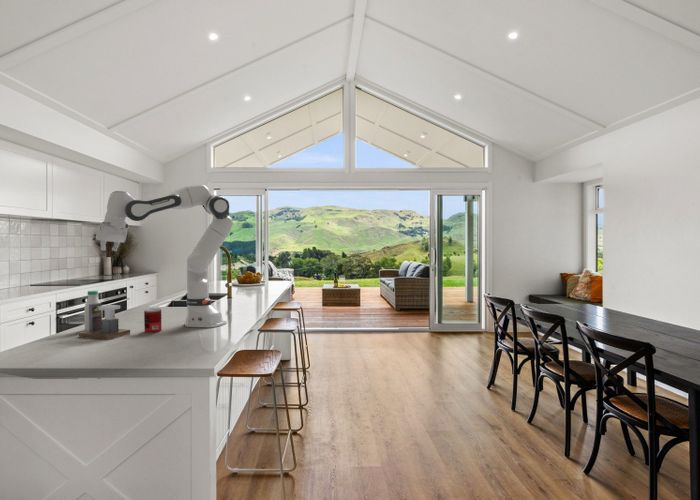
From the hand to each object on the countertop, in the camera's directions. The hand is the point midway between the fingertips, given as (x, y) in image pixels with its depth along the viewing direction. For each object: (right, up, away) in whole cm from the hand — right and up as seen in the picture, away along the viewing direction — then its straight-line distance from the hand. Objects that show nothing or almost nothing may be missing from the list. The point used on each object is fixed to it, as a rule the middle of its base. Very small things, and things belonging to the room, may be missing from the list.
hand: (108, 250), depth 211 cm
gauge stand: (0, -41, -4) cm, 41 cm away
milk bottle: (-12, -41, +8) cm, 43 cm away
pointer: (-3, -29, -3) cm, 29 cm away
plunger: (+1, -35, -5) cm, 35 cm away
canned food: (+20, -41, +5) cm, 46 cm away
